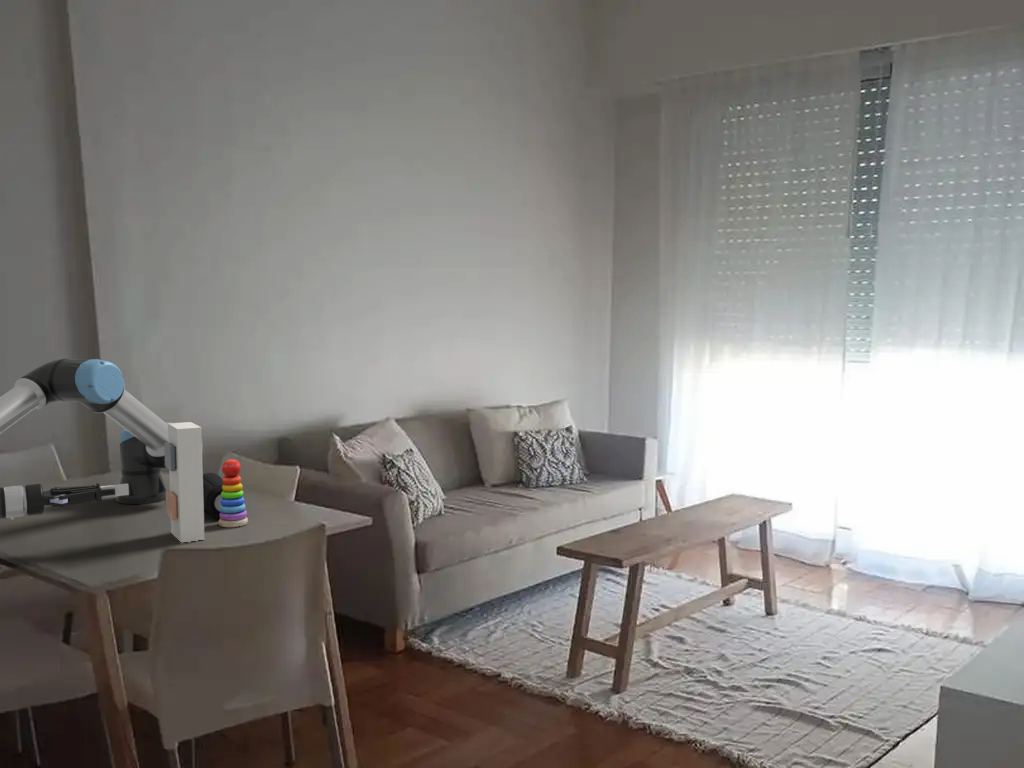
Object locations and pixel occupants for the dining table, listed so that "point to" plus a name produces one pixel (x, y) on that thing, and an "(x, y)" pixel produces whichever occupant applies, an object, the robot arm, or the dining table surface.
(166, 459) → the upper button
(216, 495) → the portable speaker
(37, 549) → the dining table surface
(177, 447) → the button panel
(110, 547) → the dining table surface
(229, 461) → the stacking toy
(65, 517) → the dining table surface
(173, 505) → the lower button
